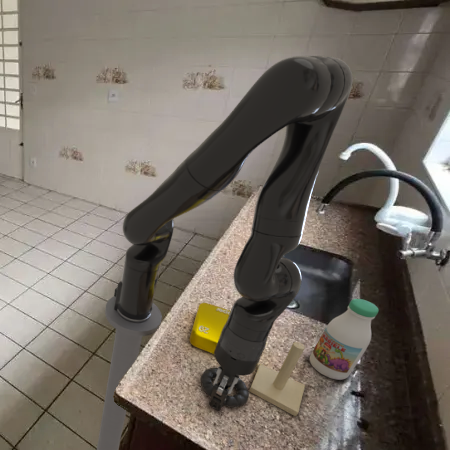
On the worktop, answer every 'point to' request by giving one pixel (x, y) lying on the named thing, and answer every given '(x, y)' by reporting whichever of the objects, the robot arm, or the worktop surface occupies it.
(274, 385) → the stand
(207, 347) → the element tile
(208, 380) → the ring
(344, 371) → the milk bottle
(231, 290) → the worktop surface
